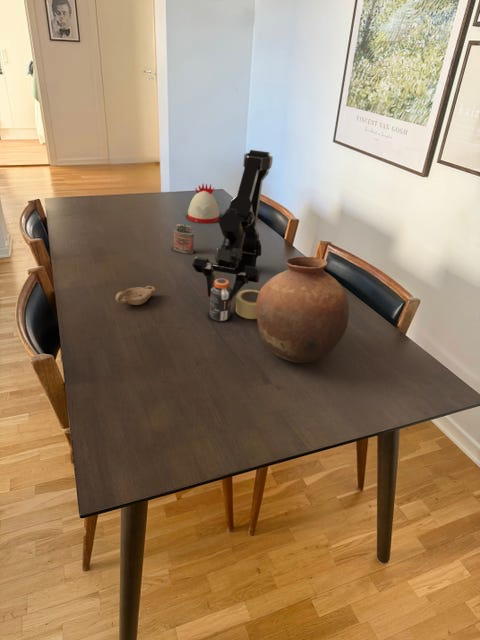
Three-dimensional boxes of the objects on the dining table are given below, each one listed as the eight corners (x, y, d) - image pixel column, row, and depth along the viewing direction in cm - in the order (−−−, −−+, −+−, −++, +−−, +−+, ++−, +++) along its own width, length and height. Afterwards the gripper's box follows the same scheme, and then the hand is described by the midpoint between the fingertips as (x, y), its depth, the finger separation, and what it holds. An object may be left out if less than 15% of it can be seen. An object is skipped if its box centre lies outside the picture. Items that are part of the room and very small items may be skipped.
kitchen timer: (218, 224, 193) (219, 189, 185) (186, 221, 192) (186, 186, 185) (219, 213, 205) (221, 180, 197) (189, 211, 204) (190, 177, 196)
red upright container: (171, 249, 166) (171, 224, 160) (176, 246, 168) (176, 221, 163) (191, 254, 163) (191, 228, 158) (195, 251, 166) (196, 225, 161)
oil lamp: (147, 290, 138) (147, 276, 135) (162, 300, 134) (161, 285, 131) (109, 303, 130) (108, 288, 127) (123, 314, 125) (122, 298, 123)
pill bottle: (231, 321, 126) (233, 286, 120) (210, 321, 126) (211, 286, 120) (228, 310, 131) (231, 276, 125) (208, 310, 131) (210, 276, 125)
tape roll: (255, 301, 138) (257, 287, 135) (271, 315, 131) (273, 300, 128) (230, 306, 133) (231, 292, 131) (245, 321, 127) (246, 306, 124)
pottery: (318, 390, 104) (339, 296, 91) (235, 353, 113) (243, 264, 100) (351, 345, 121) (373, 261, 108) (277, 317, 130) (288, 236, 117)
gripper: (195, 229, 121) (180, 283, 118) (262, 240, 118) (249, 295, 115) (202, 245, 132) (190, 295, 128) (264, 256, 129) (253, 307, 125)
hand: (219, 298), depth 124 cm, fingers closed on pill bottle, 6 cm apart
